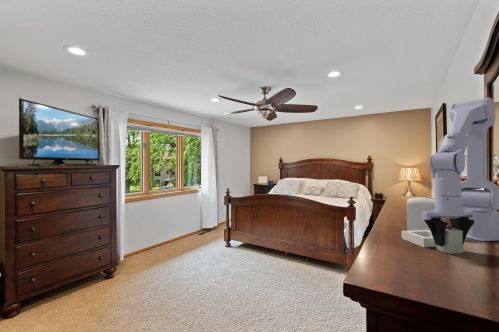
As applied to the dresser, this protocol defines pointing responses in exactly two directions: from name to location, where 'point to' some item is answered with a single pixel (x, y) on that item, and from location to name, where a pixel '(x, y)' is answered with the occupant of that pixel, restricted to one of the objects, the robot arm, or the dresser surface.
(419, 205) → the photo printer
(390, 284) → the dresser surface
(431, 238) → the white square frame
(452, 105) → the robot arm
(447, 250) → the pale green block
